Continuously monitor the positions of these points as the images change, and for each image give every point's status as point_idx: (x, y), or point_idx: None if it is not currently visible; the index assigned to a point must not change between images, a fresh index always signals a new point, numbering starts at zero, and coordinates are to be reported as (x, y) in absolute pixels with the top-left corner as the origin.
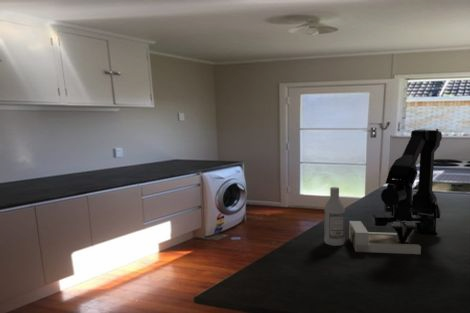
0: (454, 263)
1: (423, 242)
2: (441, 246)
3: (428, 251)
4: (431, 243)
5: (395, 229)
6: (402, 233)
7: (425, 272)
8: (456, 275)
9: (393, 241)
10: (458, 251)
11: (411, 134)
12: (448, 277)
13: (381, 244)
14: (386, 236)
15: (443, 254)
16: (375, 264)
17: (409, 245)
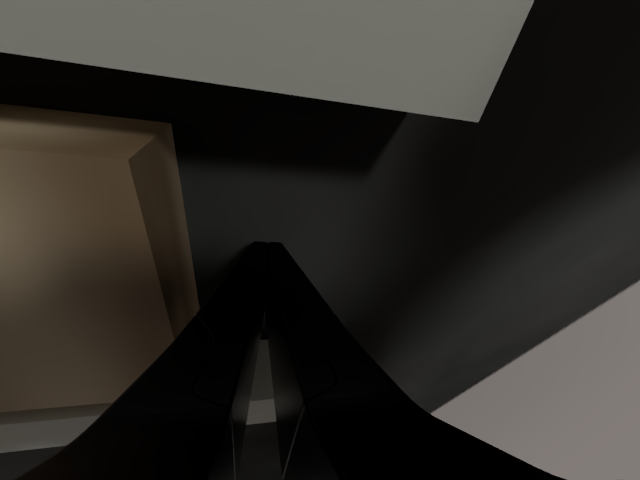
0: None
1: (564, 121)
2: (591, 228)
3: (413, 318)
4: (603, 155)
5: (120, 431)
6: (236, 466)
7: (258, 463)
8: None
9: (138, 370)
10: (582, 299)
11: None
12: None
13: (2, 443)
14: (4, 208)
15: (459, 342)
16: None
17: (272, 412)
